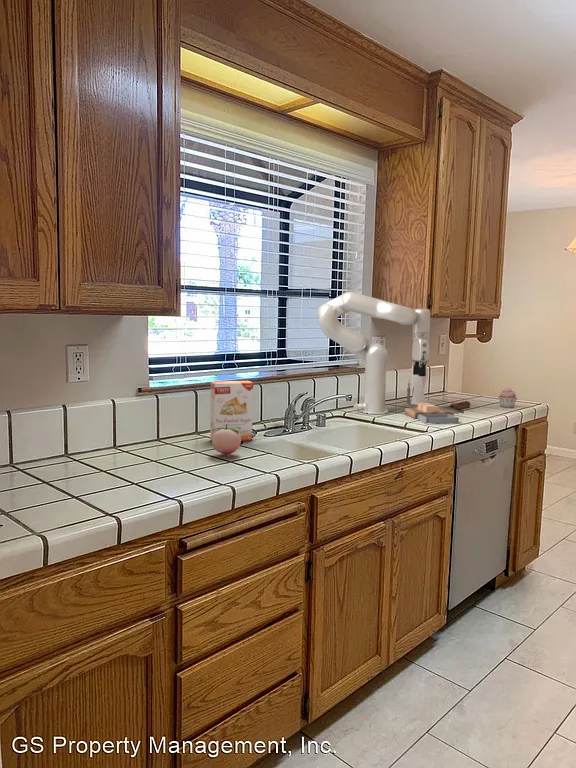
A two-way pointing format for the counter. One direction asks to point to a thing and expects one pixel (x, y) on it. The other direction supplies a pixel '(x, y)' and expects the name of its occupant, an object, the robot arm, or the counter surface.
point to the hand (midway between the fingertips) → (419, 375)
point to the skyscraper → (417, 389)
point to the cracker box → (232, 407)
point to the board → (415, 411)
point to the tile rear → (422, 405)
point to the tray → (437, 418)
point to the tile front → (429, 408)
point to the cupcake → (507, 398)
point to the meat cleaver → (457, 407)
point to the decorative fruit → (226, 440)
